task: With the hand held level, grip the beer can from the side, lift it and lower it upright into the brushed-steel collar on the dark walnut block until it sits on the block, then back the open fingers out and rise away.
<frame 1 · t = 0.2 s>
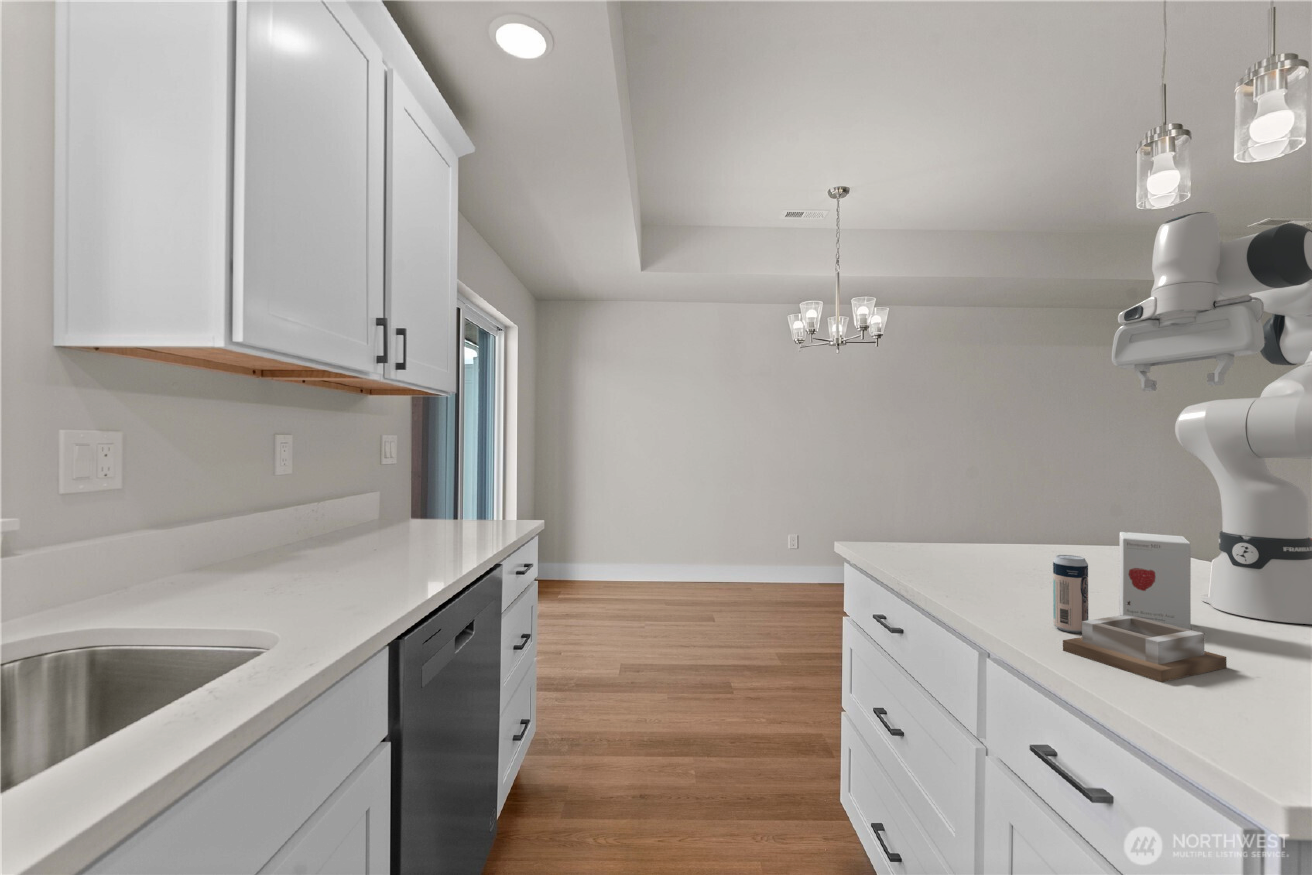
hand: (1180, 387, 103), 40 cm above the worktop, tool pointing down, fingers open, 8 cm apart
supplement box: (1153, 625, 104), on the worktop
socket base: (1141, 658, 88), on the worktop
beer can: (1070, 630, 101), on the worktop
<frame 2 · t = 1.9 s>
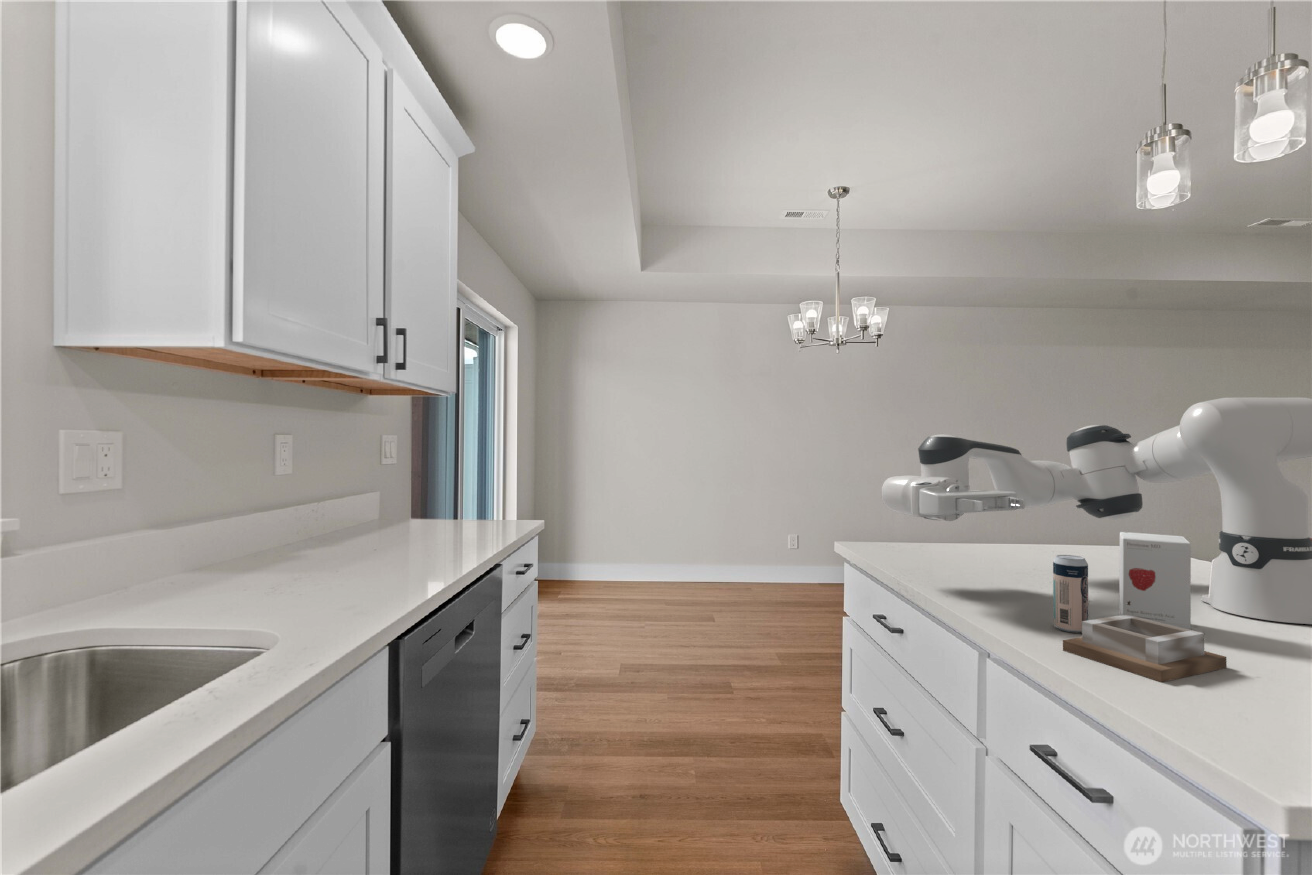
hand: (1003, 505, 113), 19 cm above the worktop, tool horizontal, fingers open, 8 cm apart
nothing on the worktop moved.
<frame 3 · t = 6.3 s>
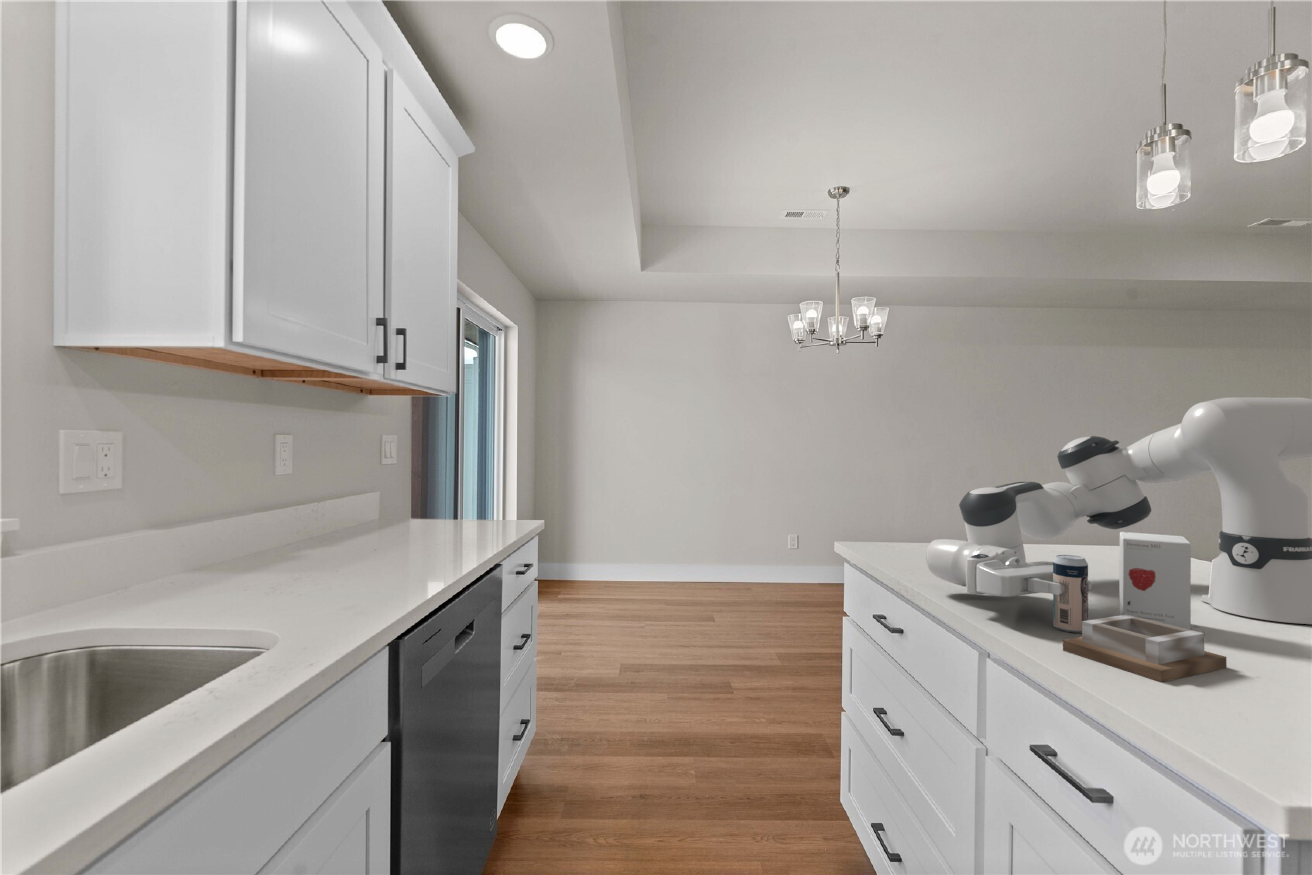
hand: (1075, 588, 100), 7 cm above the worktop, tool horizontal, fingers closed on beer can, 5 cm apart
beer can: (1070, 630, 101), on the worktop, touching gripper
everything else where it was.
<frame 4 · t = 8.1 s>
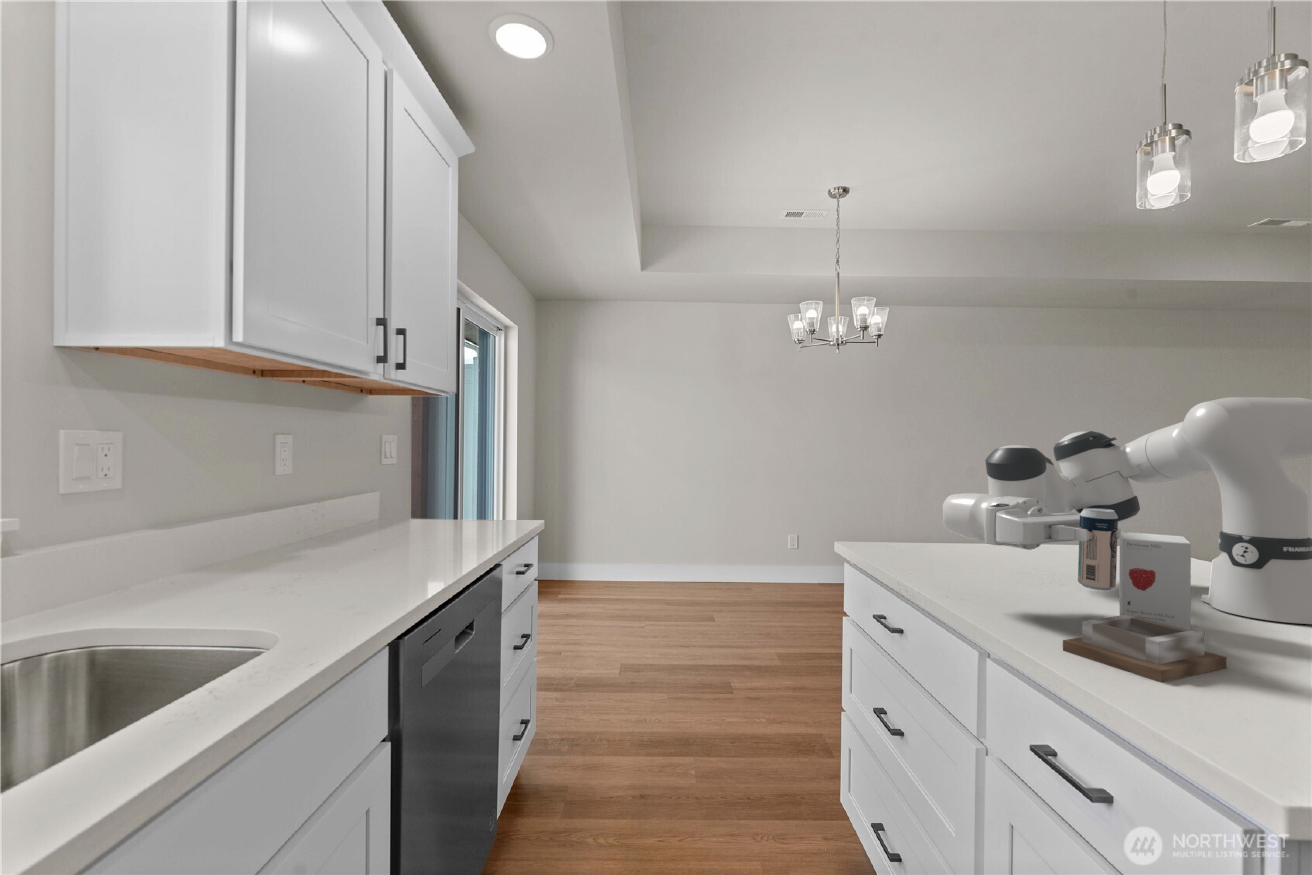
hand: (1104, 534, 94), 17 cm above the worktop, tool horizontal, fingers closed on beer can, 5 cm apart
beer can: (1096, 588, 95), point 8 cm above the worktop, touching gripper
everything else where it was.
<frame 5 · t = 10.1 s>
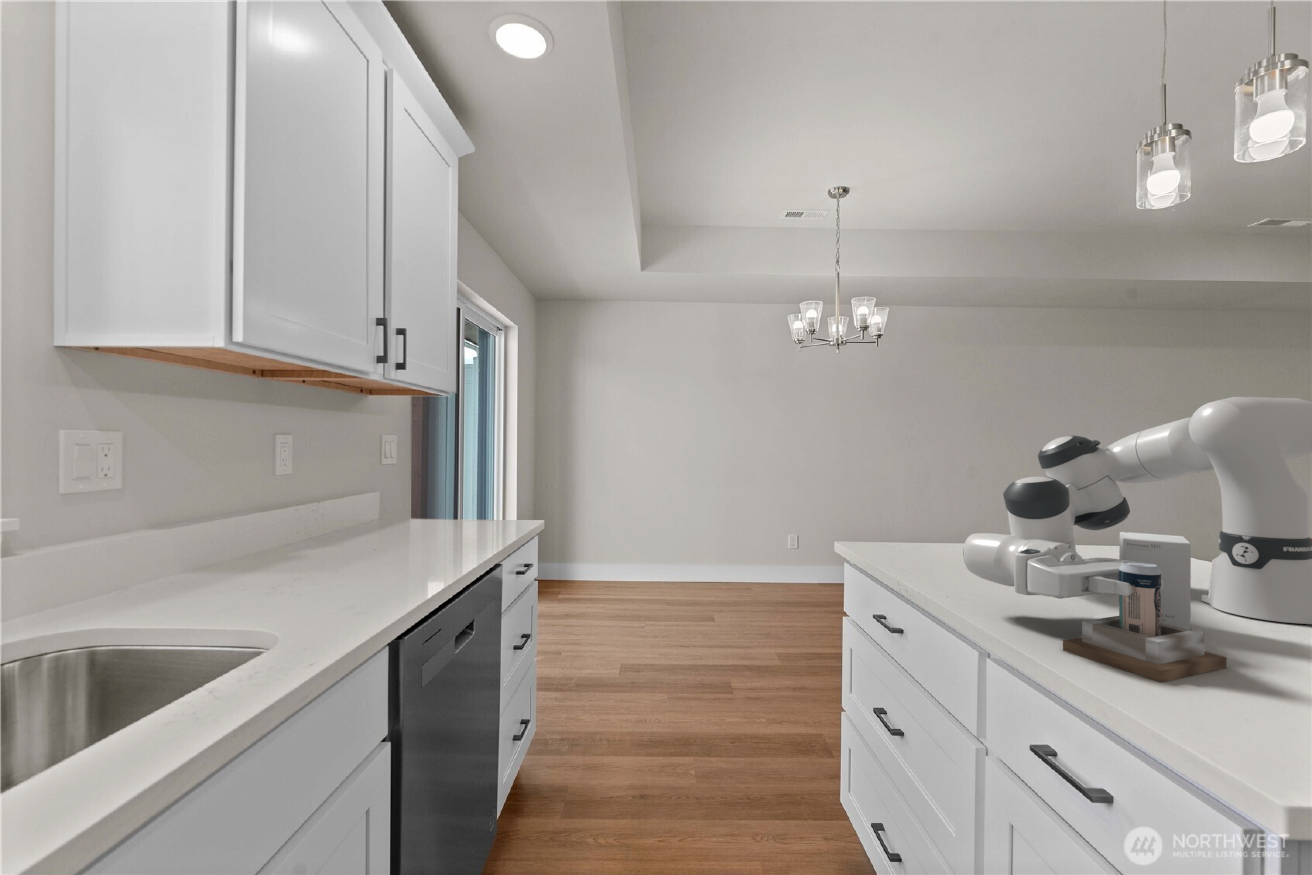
hand: (1146, 587, 87), 10 cm above the worktop, tool horizontal, fingers closed on beer can, 5 cm apart
beer can: (1140, 649, 88), point 1 cm above the worktop, touching gripper, socket base
everything else where it was.
when the fingers open (10 cm above the worktop, at t = 10.6 s): beer can stays where it is, resting on socket base.
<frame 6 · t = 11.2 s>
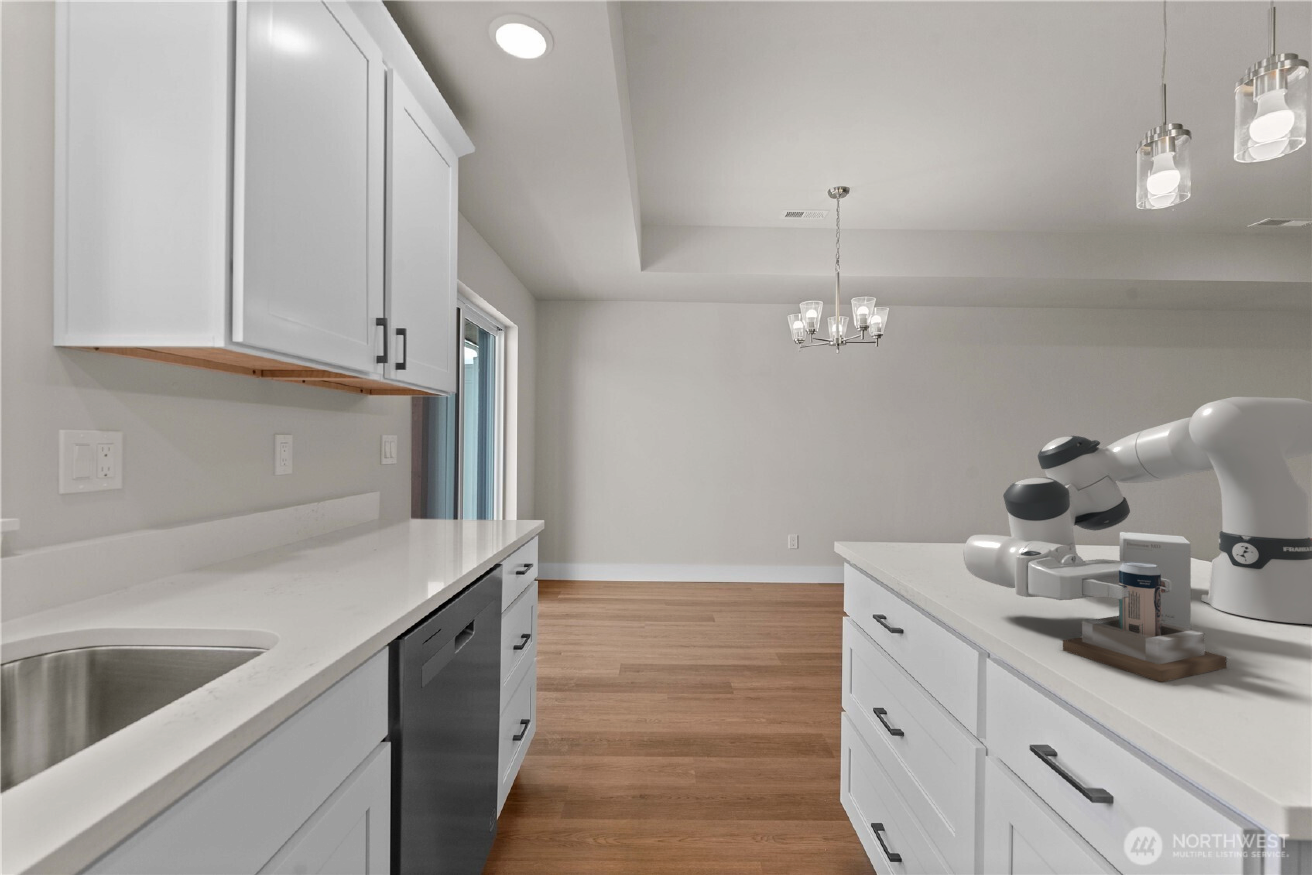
hand: (1147, 589, 87), 10 cm above the worktop, tool horizontal, fingers open, 8 cm apart
beer can: (1140, 649, 88), point 1 cm above the worktop, touching socket base
everything else where it was.
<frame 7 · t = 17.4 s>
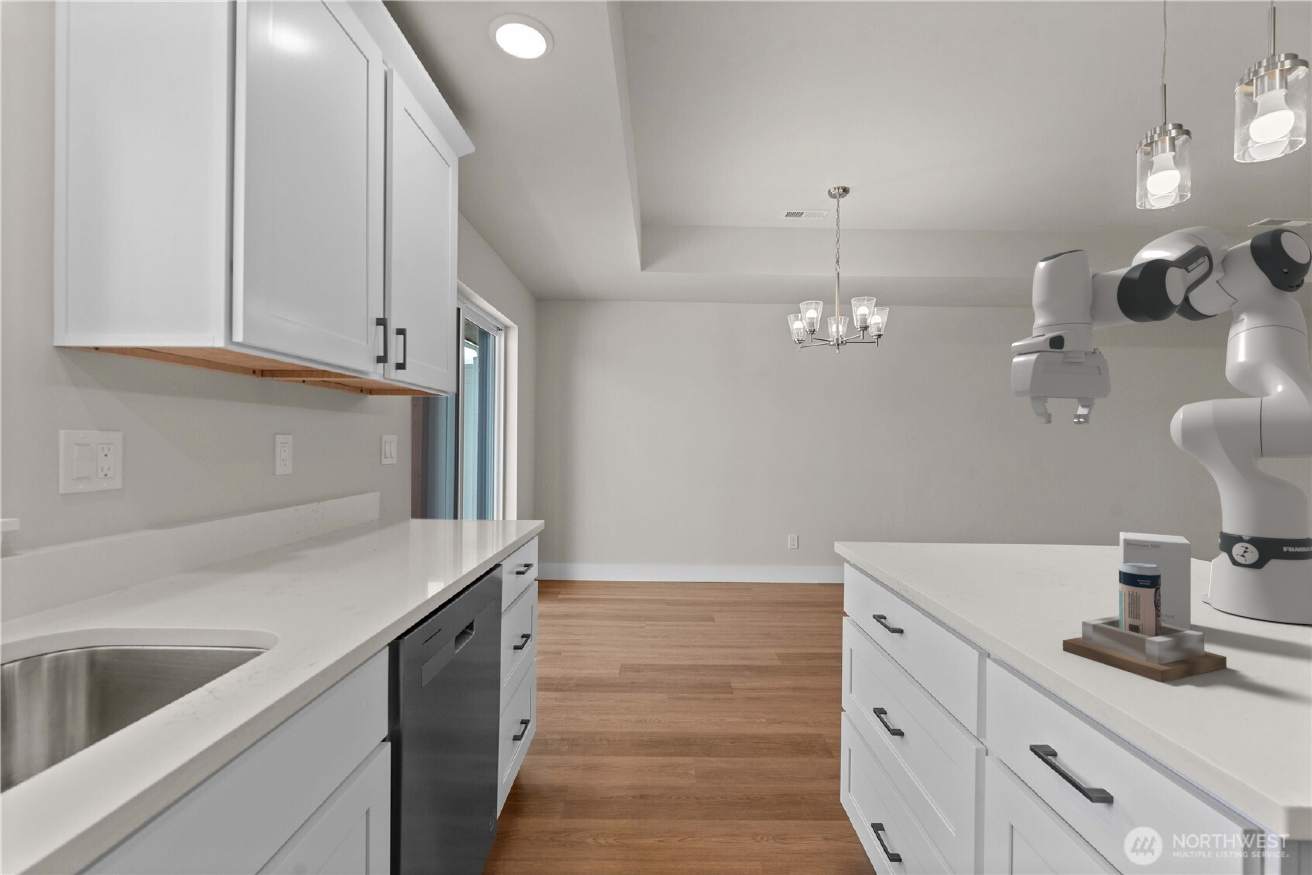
hand: (1062, 424, 107), 34 cm above the worktop, tool pointing down, fingers open, 8 cm apart
nothing on the worktop moved.
at the end: beer can 0.1 cm off-centre on the socket base, point 1.3 cm above the socket base's base; beer can tilted 0°; the gripper is holding nothing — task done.
